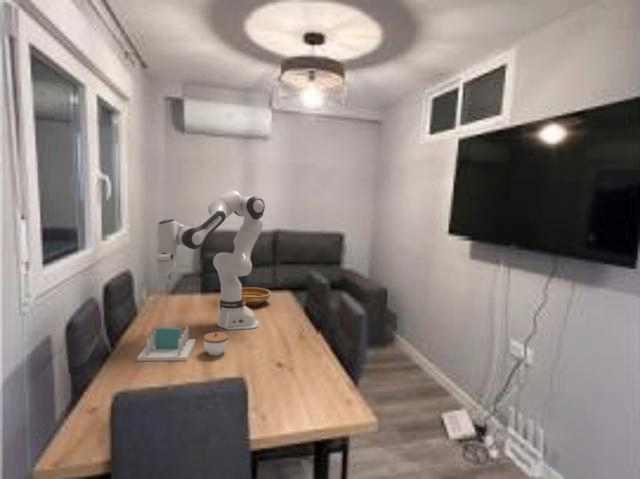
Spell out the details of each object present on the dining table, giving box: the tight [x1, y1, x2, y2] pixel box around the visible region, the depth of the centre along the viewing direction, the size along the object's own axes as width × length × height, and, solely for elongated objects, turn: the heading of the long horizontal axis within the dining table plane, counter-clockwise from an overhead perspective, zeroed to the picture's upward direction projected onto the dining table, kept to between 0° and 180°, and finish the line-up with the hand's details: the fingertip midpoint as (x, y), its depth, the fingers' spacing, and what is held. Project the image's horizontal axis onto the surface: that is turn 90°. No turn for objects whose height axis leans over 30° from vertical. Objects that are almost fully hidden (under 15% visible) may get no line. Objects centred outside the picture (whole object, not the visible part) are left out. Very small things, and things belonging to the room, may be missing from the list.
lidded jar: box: [203, 331, 229, 357], centre depth 173 cm, size 11×11×9 cm
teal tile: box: [155, 326, 182, 349], centre depth 172 cm, size 10×2×9 cm, turn 97°
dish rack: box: [136, 326, 196, 362], centre depth 172 cm, size 20×20×8 cm
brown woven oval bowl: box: [242, 287, 272, 307], centre depth 252 cm, size 30×24×8 cm
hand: (167, 282), depth 186 cm, fingers open, 8 cm apart
